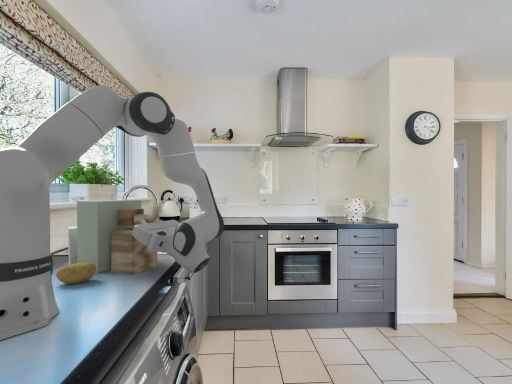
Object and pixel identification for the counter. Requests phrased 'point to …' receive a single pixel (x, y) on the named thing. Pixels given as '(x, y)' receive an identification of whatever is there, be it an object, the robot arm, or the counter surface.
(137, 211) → the walnut handle block
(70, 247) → the skincare box
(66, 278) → the potato
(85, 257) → the large sage green box
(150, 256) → the low oak block
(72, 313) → the counter surface
